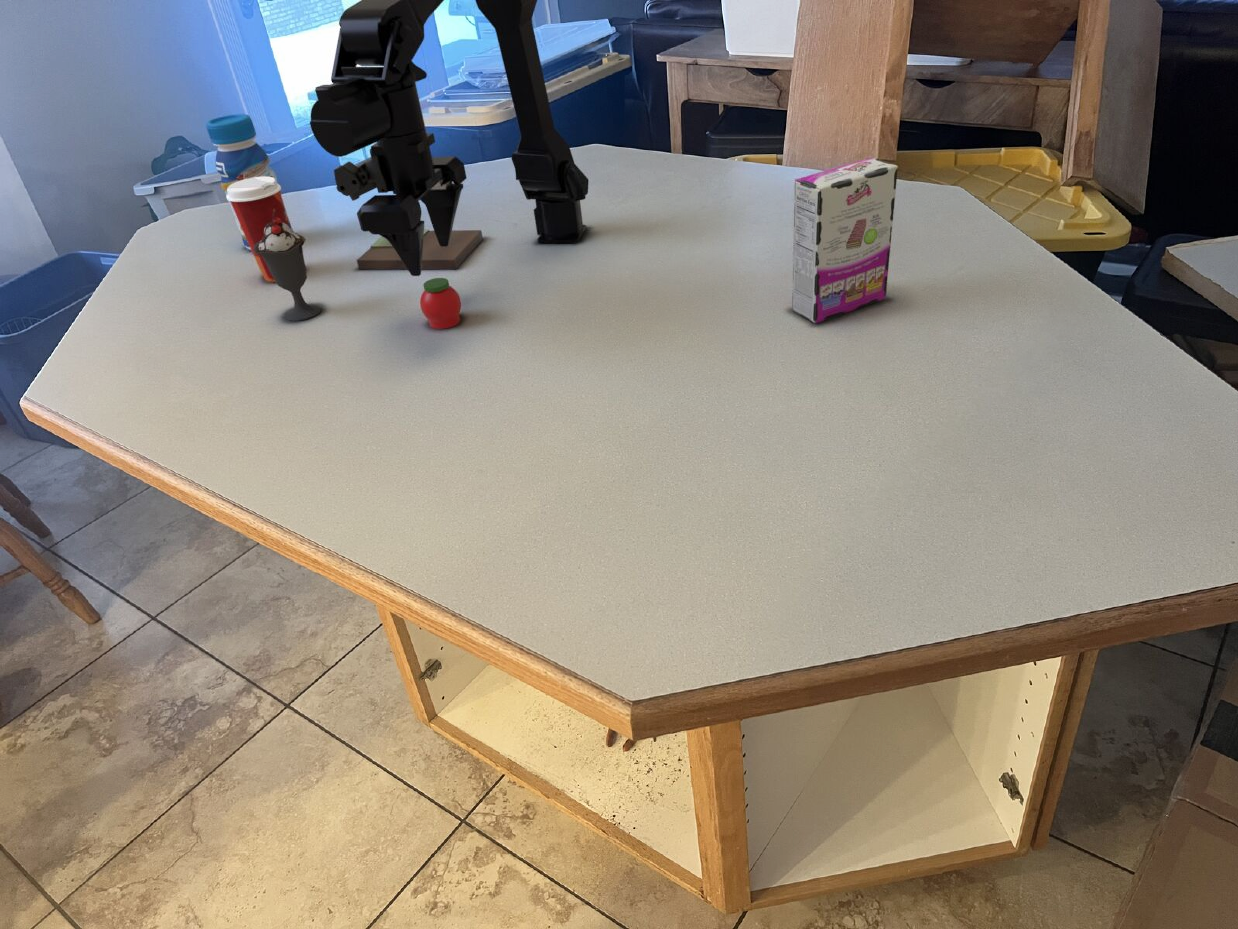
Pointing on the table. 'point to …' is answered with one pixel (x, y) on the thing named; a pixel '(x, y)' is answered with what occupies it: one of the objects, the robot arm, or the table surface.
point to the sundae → (286, 265)
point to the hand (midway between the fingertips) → (430, 260)
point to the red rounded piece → (440, 303)
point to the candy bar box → (842, 238)
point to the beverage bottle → (238, 154)
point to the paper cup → (257, 211)
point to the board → (424, 252)
